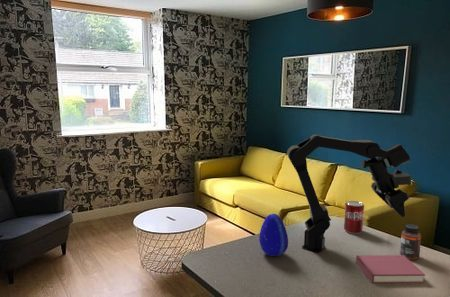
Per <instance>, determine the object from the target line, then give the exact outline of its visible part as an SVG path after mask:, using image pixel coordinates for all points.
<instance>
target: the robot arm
mask: <svg viewBox="0 0 450 297" xmlns="http://www.w3.org/2000/svg"><path fill="white" fill-rule="evenodd" d="M318 148H325V149H330V150H331V149H332V150H336V151H338V150H339V151H343V152H350V153H352V154H356V155H359V156H361V157H364V158H366V159H362V161H361V163H360V167H362V168H363V169H366V168H367V169H368V170H369V172H370V175H371V179H372V181H373V183H371V185H370V187H371V189H372V191H373V193H374V194H376V195H377V196H378V197H379V198H380V199H381V200H382V201H383V202H384V203H385V204H386V205H387V206H388V207H389V208H390V209H393V211H395V212H396V213H397V214H398V215H399V216H400V217H402V218H404V217H405V216H406V211H405V202H407V201H408V200H409V199H410V197H409V193H408V192H406V191H405V190H403V189H400V186H404V185H405V186H406V185H408V186H411V185H412V176H411V174H409V173H407V172H402V170H400V169H395V168H398V167H399V166H402V165H404V164H406V163H408V162H410V161H411V158H410V155H409V153H407V151H406V149H405V148H404V147H403V145H402V144H400V143H398V144H395V145H394V146H393V147H390V148H388V149H383V148H381V146H380V145H379V144H378V143H377V142H375V141H372V140H369V139H357V140H348V139H342V138H336V137H330V136H329V137H328V136H324V135H319V134H312V135H311V136H310V137H308V138H307V139H305V140H303V141H301V142H299V143H298V144H297V145H296V144H294V145H291V146H290V147H289V148H288V149H287V151H286V155H287V158H288V159H289V161H290V163H291V165H292V167H293V168H294V170H295V171H296V173H297V176H298V178H299V181H300V185H301V188H302V189H303V193H304V195H305V198H306V200H307V203H308V207H309V216H310V217H309V218H308V219H307V220H306V221H305V222H304V225H305V227H306V230H304V236H303V237H304V240H303V245H302V246H301V248H302V249H304V250H308V251H311V252H314V253H320V252H321V251H322V250H324V248H326V245H325V243H326V238H325V237H326V236H325V233H326V231H327V230H329V228H330V227H331V221H332V218H331V217H330V216H329V211H328V209H327V207H326V205H325V204H322V205H321V204H320V201H319V199H318V198H319V197H318V196H317V194H316V191H315V188H314V185H313V183H312V179H311V177H310V176H311V175H310V173H309V171H308V163H307V157H308V156H309V155H311V153H313V152H314V151H316V149H318ZM388 167H391V168H393V169H394V170H393V173H392V172H391V173H390V171H389V169H388Z"/></svg>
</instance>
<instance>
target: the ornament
mask: <svg viewBox="0 0 450 297" xmlns="http://www.w3.org/2000/svg"><path fill="white" fill-rule="evenodd" d="M258 237H259V239H258V240H259V246H260V248H261V250H262V251H263V252H264V253H265V254H266V255H267V256H270V257H278V256H281V255H283V254H284V253H286V251H287V250H288V246H289V237H288V232H287V229H286V226H285V224H284V221H283V220H282V218H281V217H280V216H279V215H278V214H276V213H271V214H268V215H267V216H266V217H265V219H264V221H263V222H262V225H261V228H260V230H259V236H258Z"/></svg>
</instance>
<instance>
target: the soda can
mask: <svg viewBox="0 0 450 297" xmlns="http://www.w3.org/2000/svg"><path fill="white" fill-rule="evenodd" d="M364 214H365V205H364V203H363V202H360V201H358V200H348V201H347V200H346V202H345V206H344V219H343V221H344V222H343V223H344V224H343V230H344V231H345V232H346V233H349V234H352V235H357V234H358V235H359V234H361V233H363V230H364V229H363V228H364Z"/></svg>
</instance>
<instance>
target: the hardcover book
mask: <svg viewBox="0 0 450 297" xmlns="http://www.w3.org/2000/svg"><path fill="white" fill-rule="evenodd" d="M355 265H357V267H358V268H359V269H360V270H361V271H362V273H363V274H364V275H365V277H366V278H367V279H368V280H369V281H370V283H371V284H398V283H399V284H411V283H413V284H414V283H415V284H417V283H418V284H424V283H425V281H424V276H426V274H425V273H424V272H423V271H422V270H421V269H420V268H418V266H416V265H415V264H414V263H413V262H412V260H409V259H407V258H406V257H405V256H404V255H401V254H398V255H397V254H396V255H394V254H391V255H390V254H389V255H383V254H381V255H378V254H375V255H374V254H373V255H367V254H366V255H360V254H358V255H357V254H356V256H355Z"/></svg>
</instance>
